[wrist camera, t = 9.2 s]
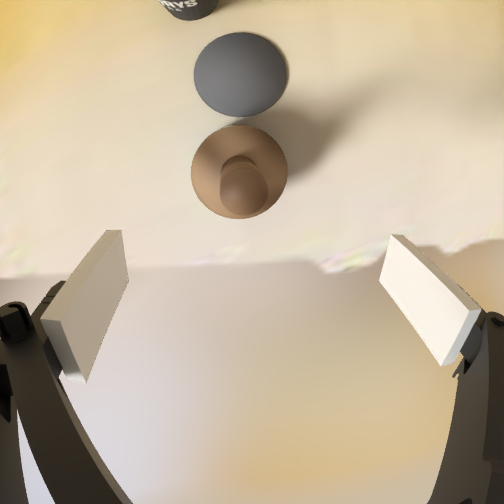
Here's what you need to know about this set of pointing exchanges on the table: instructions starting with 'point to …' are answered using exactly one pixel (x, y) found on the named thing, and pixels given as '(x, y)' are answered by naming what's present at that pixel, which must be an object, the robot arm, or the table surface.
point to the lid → (239, 172)
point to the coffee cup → (189, 8)
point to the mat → (240, 74)
